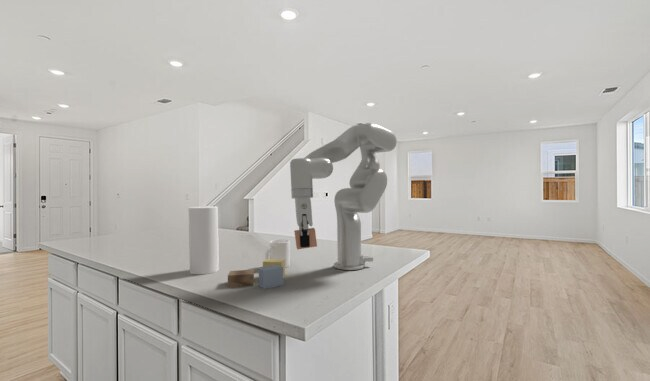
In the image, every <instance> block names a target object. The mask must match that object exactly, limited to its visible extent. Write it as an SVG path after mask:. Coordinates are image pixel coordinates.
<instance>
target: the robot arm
mask: <svg viewBox="0 0 650 381" xmlns="http://www.w3.org/2000/svg"><path fill="white" fill-rule="evenodd" d="M396 146H397V137H396V135H395V133H394V132H393V131H392V130H389V129H387V128H385V127H383V126H381V125H378V124H377V123H372V122H367V123H363V124H356V125H352V126H351V127H349V128H347V129H346V130H345V131H344V132H342V133H341V134H340V135H339V136H337V137H335V139H333V140H332V141H330V142H328V143H326V144H324V145H323V146H321V147H319V148H316V149H314V150H313V151H311V152H310V153H309V154H307V155H306V156H305V157H298V158H293V159H291V160H290V162H289V163H290V164H289V169H290V186H291V187H290V188H291V190H290V192H291V199H294V203H295V217H296V224H297V226H298V228H299V229H298V230H300V232H301V236H300V246H301V247H309V246H310V240H309V226H310V227H312V226H313V214H312V212H313V211H312V200H311V198H314V190H313V189H314V187H313V186H314V185H313V179H316V180H319V179H322V180H323V179H326V178H328V177H330V176H331V175H332V174H333V171H334V165H333V164H334V163H338V162H340V161H344V160H346V159H347V158H348V157H349V156H351V155H352V154H353V153H354V152H356V151H357V150H358V148H359V149H360V155H361V156H360V157H361V160H360V162H359V164H358V166H357V167H356V169H355V171H353V173H352V175H351V177H350V178H349V182H348V183H349V187H347V188H346V187H344V188H341V189H339V190H338V191H337V192H336V193H335V196H334V202H333V203H334V207H335V208H334V209H335V212H336V220H337V222H336V226H337V227H336V231H337V232H336V234H337V237H336V238H337V244H336V246H337V261H335V262H334V263H333V267H334V268H335V269H338V270H342V271H343V270H344V271H357V270H362V269H364V268H365V267H366V262H370V263H371V262H374V257H373V256H366V255H365V256H364V255H363V254H362V222H361V218H360V216H359V213H361V214H369V213H371V212H372V211H373V210H375V208H376V207H377V205H378V204H379V202H380V200H381V198H382V196H383V194H384V193H385V190H386V189H387V186H388V176H387V173H386V172H385V171H384V170H383V169H381V167H380V161H379V159H378V157H377V155H376V154H377V153H378V154H379V153H386V152H391V151H393V150H395V148H396Z"/></svg>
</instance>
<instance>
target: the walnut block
mask: <svg viewBox="0 0 650 381" xmlns="http://www.w3.org/2000/svg"><path fill="white" fill-rule="evenodd" d="M254 282H255V272H254V269H243V270H229V273H228V274H227V287H228V288H234V287H250V286H251V287H253V286H254Z"/></svg>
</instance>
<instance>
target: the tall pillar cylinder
mask: <svg viewBox="0 0 650 381" xmlns="http://www.w3.org/2000/svg"><path fill="white" fill-rule="evenodd" d="M188 240H189V241H188V246H189V248H188V249H189V273H190V274H191V275H209V274H213V273H216V272H218V271H220V261H219V260H220V257H219V256H220V255H219V254H220V253H219V252H220V251H219V250H220V249H219V247H220V246H219V206H217V205H216V206H215V205H213V206H212V205H211V206H206V205H205V206H189V207H188Z"/></svg>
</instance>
